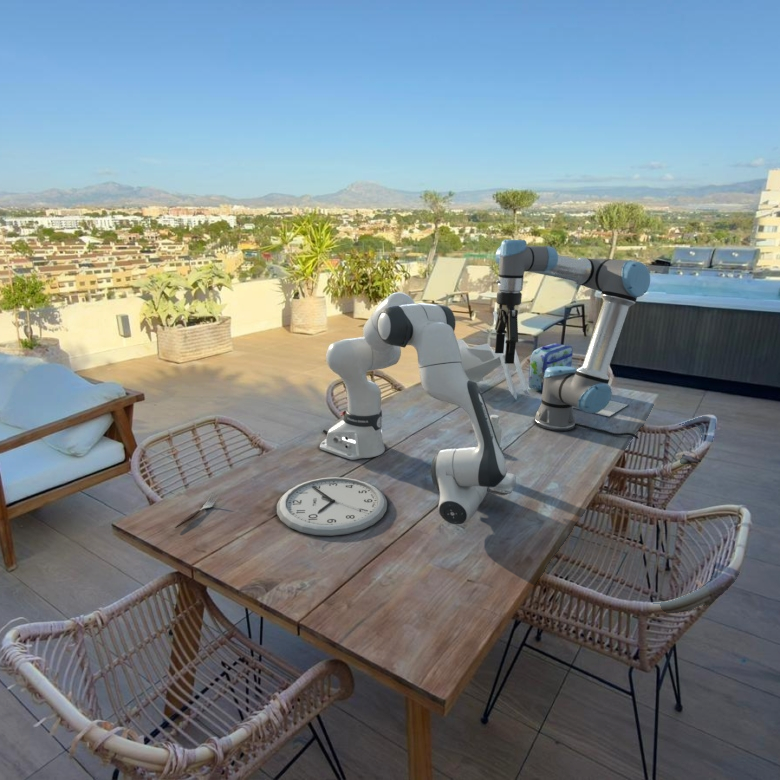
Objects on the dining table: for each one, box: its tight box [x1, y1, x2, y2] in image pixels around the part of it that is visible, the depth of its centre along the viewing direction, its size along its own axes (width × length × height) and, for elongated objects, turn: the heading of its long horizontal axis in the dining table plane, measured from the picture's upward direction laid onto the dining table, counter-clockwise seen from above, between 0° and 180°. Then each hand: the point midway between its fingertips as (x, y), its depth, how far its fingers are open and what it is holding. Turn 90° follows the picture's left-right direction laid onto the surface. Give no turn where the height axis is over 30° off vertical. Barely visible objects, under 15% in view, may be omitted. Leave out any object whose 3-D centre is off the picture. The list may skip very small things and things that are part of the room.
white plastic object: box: [456, 310, 531, 400], centre depth 245 cm, size 37×45×31 cm
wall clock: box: [276, 476, 388, 537], centre depth 142 cm, size 30×2×30 cm
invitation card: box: [573, 400, 629, 418], centre depth 226 cm, size 21×1×15 cm
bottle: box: [489, 414, 503, 447], centre depth 158 cm, size 5×5×20 cm
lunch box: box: [528, 343, 574, 392], centre depth 249 cm, size 26×11×21 cm, turn 134°
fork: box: [174, 492, 220, 529], centre depth 137 cm, size 3×16×2 cm, turn 160°
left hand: (485, 466), depth 152 cm, fingers open, 8 cm apart
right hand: (503, 358), depth 168 cm, fingers open, 13 cm apart
